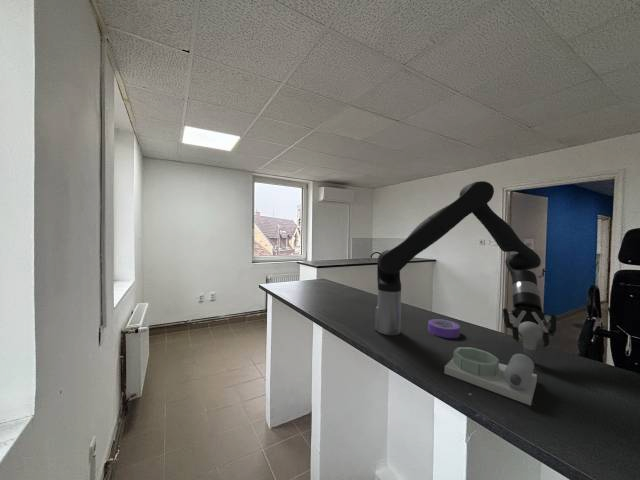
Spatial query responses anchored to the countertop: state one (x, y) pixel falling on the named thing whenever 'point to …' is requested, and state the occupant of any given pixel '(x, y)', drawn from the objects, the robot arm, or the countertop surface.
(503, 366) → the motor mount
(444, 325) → the masking tape
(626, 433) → the countertop surface
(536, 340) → the lightbulb
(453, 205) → the robot arm
